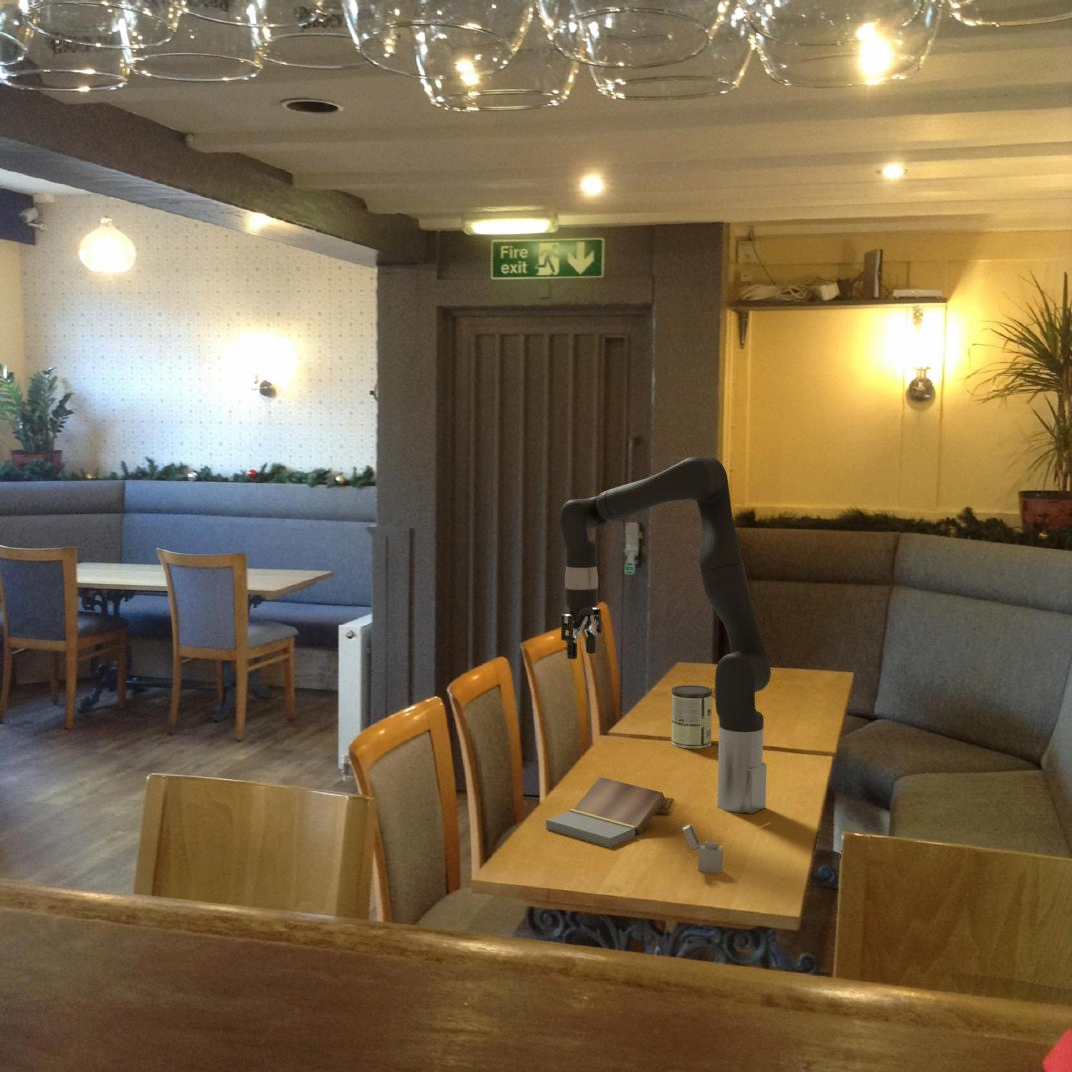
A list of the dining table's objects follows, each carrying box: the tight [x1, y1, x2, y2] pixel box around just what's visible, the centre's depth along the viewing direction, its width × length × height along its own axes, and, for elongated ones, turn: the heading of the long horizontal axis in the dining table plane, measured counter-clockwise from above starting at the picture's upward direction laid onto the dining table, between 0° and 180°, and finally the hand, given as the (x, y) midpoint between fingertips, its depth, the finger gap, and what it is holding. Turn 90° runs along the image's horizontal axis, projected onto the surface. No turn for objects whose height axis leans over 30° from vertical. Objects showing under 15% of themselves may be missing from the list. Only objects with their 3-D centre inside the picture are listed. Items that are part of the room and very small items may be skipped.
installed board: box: [545, 808, 636, 849], centre depth 232 cm, size 16×8×2 cm, turn 49°
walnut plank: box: [573, 776, 666, 836], centre depth 239 cm, size 16×10×2 cm
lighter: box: [682, 823, 724, 875], centre depth 213 cm, size 7×2×8 cm, turn 71°
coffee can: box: [670, 684, 714, 750], centre depth 300 cm, size 10×10×14 cm
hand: (581, 656), depth 272 cm, fingers open, 8 cm apart
